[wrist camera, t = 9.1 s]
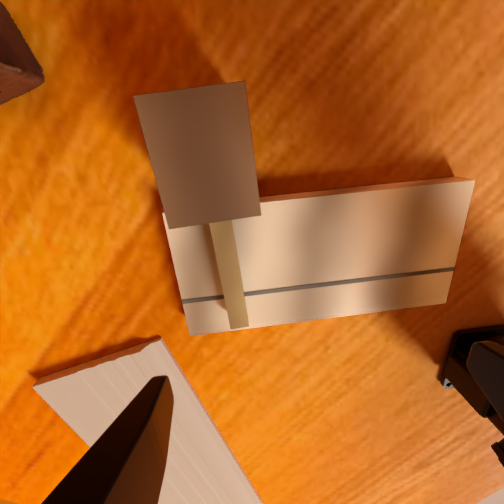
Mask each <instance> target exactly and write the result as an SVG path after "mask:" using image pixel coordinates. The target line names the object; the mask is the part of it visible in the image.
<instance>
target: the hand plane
mask: <svg viewBox="0 0 504 504" xmlns="http://www.w3.org/2000/svg"><path fill="white" fill-rule="evenodd" d="M10 16H11V15H10V14H9V12H8V11H7V9H6V8H5V7H4V5H3V4H2V3H1V2H0V105H1V104H3V103H5V102H8V101H10V100H11V99H13V98H15V97H18V96H21V95H23V94H24V93H27V92H29V91H31V90H33V89H34V88H36V87H38V86H40V85H41V84H43V83H44V75H43V73H42V72H43V69H42V67H41V66H40V64H39V63H38V61H37V60H36V58H35V56H34V55H33V53H32V51H31V49H30V48H29V46H28V44H27V43H26V42H25V39H24V38H23V36H22V34H21V32H20V30H19V29H18V28H17V26H16V25H15V23H14V20H13V19H12V18H11V17H10Z"/></svg>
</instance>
